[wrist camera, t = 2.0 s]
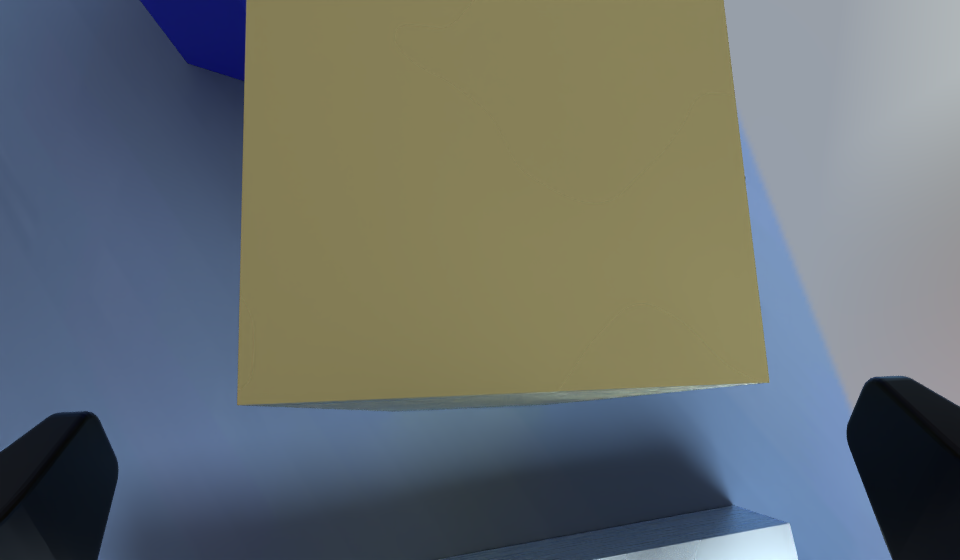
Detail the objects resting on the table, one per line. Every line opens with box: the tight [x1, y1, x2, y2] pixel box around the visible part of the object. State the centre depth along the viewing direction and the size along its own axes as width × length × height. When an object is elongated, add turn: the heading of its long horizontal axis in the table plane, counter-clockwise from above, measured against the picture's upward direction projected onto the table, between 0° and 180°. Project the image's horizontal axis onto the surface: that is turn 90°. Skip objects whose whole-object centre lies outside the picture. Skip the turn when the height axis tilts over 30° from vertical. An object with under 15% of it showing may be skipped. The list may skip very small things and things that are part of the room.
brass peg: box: [237, 0, 769, 411], centre depth 12 cm, size 4×4×13 cm
